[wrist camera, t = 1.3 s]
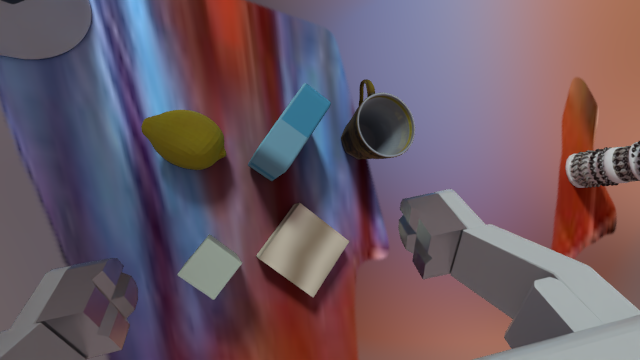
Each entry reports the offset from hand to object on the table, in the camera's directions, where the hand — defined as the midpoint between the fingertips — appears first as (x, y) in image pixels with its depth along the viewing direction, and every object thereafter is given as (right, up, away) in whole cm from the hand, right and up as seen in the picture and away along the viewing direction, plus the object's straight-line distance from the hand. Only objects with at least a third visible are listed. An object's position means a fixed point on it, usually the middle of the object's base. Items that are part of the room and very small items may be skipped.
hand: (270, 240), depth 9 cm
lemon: (-18, +7, +36) cm, 41 cm away
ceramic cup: (+8, +10, +46) cm, 48 cm away
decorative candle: (+64, +4, +64) cm, 91 cm away
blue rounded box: (-5, +7, +41) cm, 42 cm away
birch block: (-2, -9, +40) cm, 41 cm away
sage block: (-14, -10, +35) cm, 39 cm away
